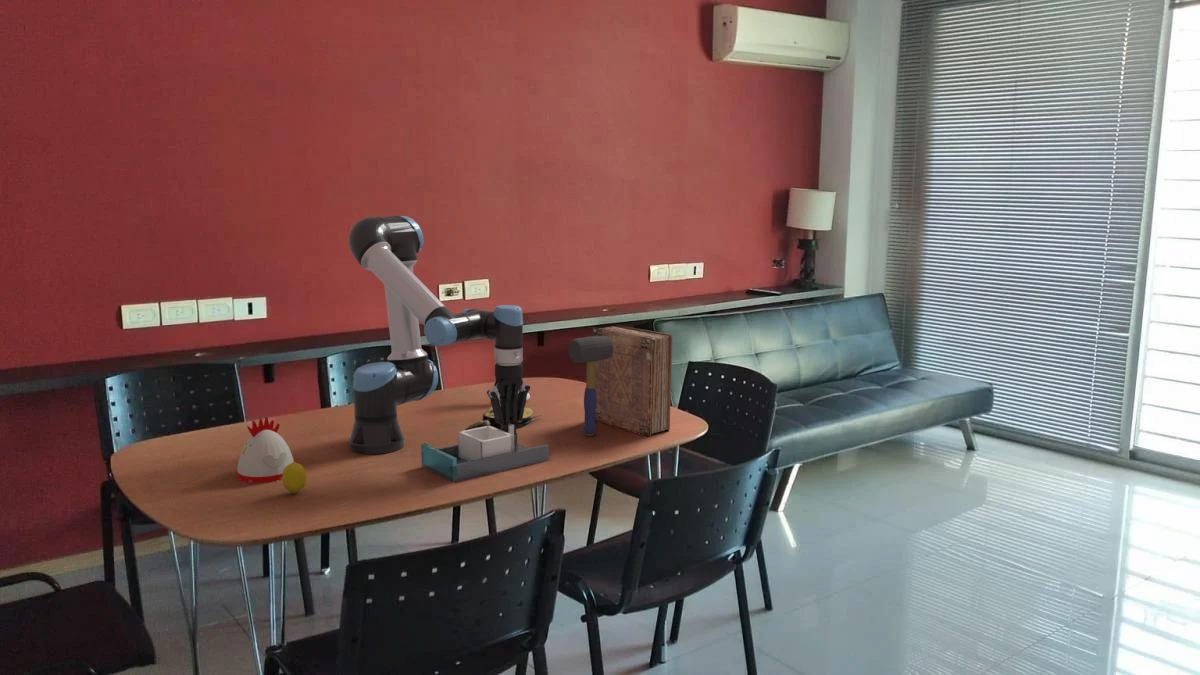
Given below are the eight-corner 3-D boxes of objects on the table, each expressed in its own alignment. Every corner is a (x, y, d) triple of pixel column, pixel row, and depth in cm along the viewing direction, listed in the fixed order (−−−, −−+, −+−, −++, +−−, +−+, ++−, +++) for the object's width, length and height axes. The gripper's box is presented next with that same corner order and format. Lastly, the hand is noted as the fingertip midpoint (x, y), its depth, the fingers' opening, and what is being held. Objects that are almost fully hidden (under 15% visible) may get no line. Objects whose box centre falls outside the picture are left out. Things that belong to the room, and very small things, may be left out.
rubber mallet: (579, 441, 264) (580, 340, 258) (565, 435, 270) (566, 336, 264) (613, 435, 271) (615, 336, 265) (599, 429, 277) (601, 332, 271)
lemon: (310, 489, 220) (308, 458, 219) (303, 497, 215) (301, 465, 214) (287, 489, 220) (285, 458, 219) (280, 497, 215) (278, 465, 213)
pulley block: (449, 413, 268) (511, 394, 293) (447, 431, 270) (509, 410, 295) (486, 427, 261) (546, 406, 286) (484, 446, 263) (544, 423, 288)
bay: (452, 482, 227) (452, 459, 226) (421, 466, 239) (421, 444, 238) (548, 460, 246) (548, 438, 245) (514, 446, 258) (514, 425, 257)
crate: (482, 467, 234) (482, 442, 233) (458, 456, 244) (458, 431, 242) (514, 460, 241) (514, 435, 240) (489, 450, 250) (489, 425, 249)
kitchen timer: (228, 473, 232) (225, 417, 229) (280, 462, 241) (277, 408, 239) (252, 487, 222) (248, 428, 219) (304, 474, 232) (301, 418, 229)
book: (670, 431, 275) (673, 334, 270) (649, 437, 269) (652, 338, 264) (612, 415, 293) (613, 324, 288) (591, 420, 287) (592, 327, 282)
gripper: (496, 368, 236) (497, 454, 240) (536, 362, 244) (536, 446, 248) (480, 363, 241) (481, 448, 245) (520, 357, 250) (520, 439, 254)
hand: (509, 447), depth 247 cm, fingers closed
